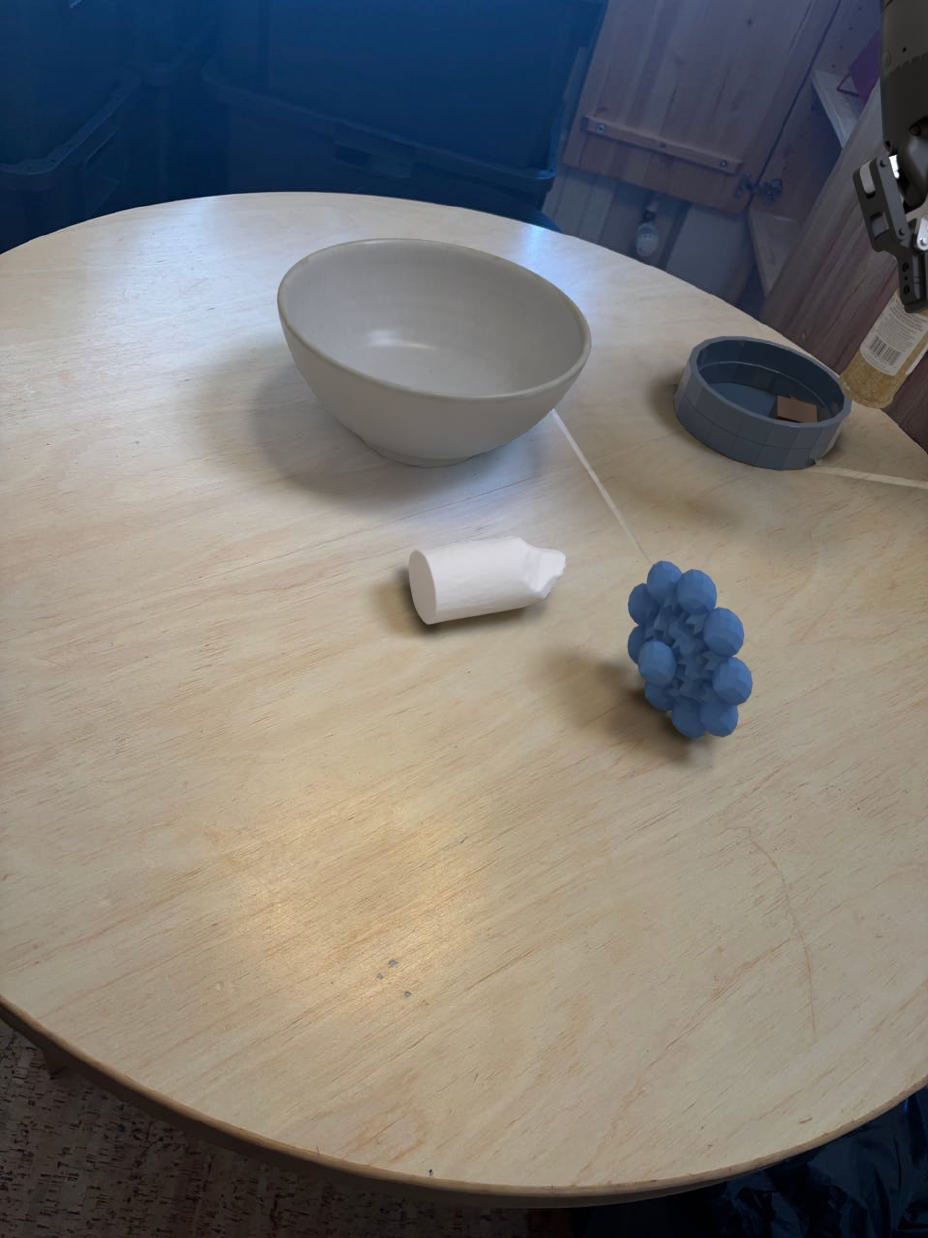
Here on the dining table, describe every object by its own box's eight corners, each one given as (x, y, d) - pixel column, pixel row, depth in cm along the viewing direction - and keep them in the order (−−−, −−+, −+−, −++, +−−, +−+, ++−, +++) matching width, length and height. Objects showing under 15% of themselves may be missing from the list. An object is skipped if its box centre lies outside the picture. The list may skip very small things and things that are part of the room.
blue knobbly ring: (565, 669, 70) (608, 548, 62) (633, 642, 73) (683, 523, 65) (667, 788, 64) (730, 671, 56) (737, 752, 67) (806, 636, 59)
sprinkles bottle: (899, 407, 76) (1010, 257, 66) (859, 413, 75) (966, 260, 64) (864, 371, 79) (966, 220, 68) (824, 376, 77) (923, 222, 67)
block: (800, 438, 98) (816, 405, 95) (800, 459, 95) (817, 426, 92) (762, 428, 98) (777, 394, 95) (761, 448, 95) (777, 415, 92)
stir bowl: (808, 394, 106) (829, 350, 102) (845, 485, 94) (871, 438, 90) (664, 370, 104) (680, 324, 100) (682, 459, 92) (701, 411, 89)
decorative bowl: (235, 368, 91) (233, 245, 83) (478, 339, 102) (499, 229, 94) (340, 546, 76) (352, 418, 67) (613, 490, 87) (652, 374, 78)
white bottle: (572, 616, 74) (591, 563, 70) (429, 640, 70) (440, 585, 66) (542, 565, 78) (557, 512, 74) (404, 585, 74) (412, 530, 70)
